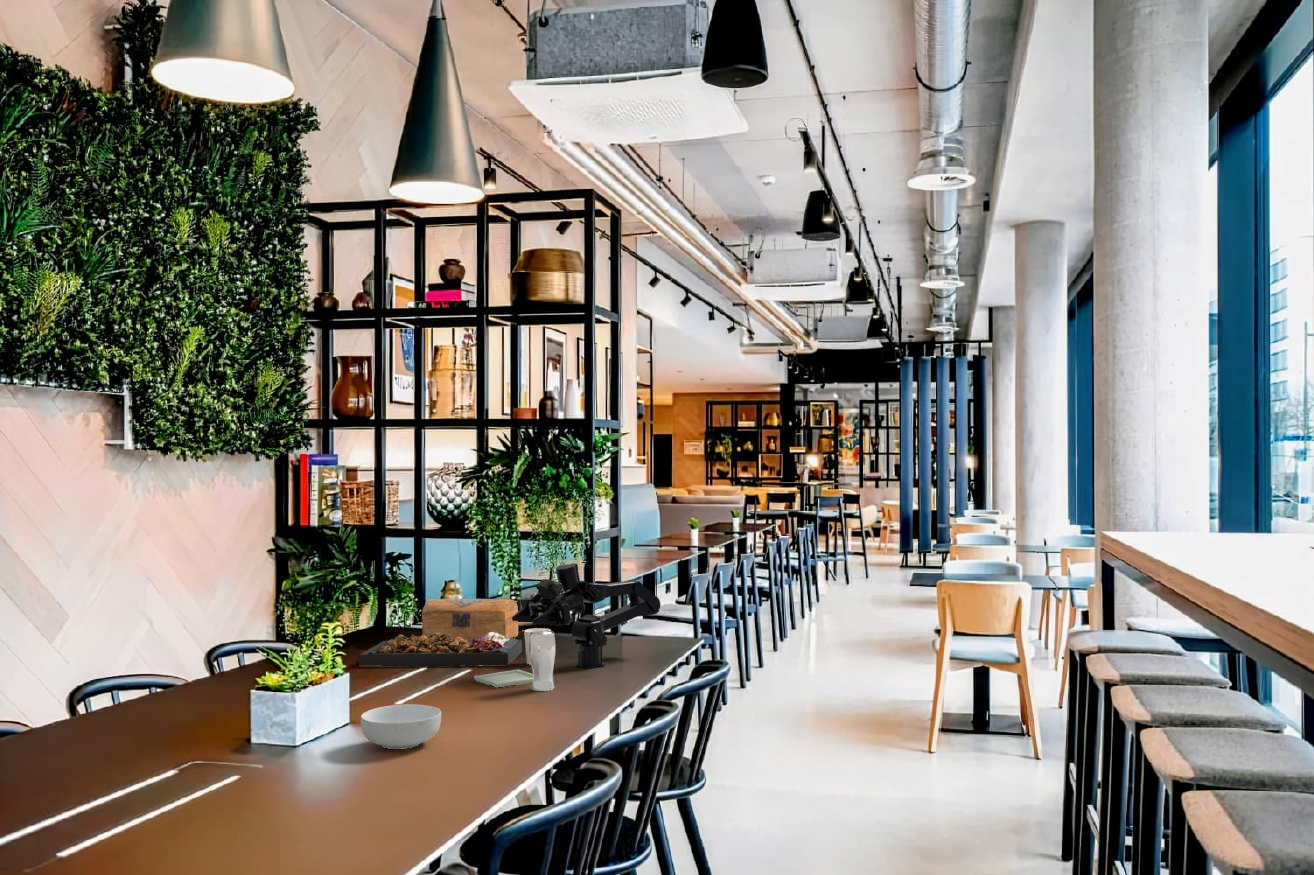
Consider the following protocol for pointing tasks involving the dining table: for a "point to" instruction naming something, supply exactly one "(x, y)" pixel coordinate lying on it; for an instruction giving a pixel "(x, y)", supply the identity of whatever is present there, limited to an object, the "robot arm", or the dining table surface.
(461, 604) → the wooden box
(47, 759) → the dining table surface
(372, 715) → the cereal bowl
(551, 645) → the beer glass
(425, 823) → the dining table surface
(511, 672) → the tray
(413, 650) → the food platter
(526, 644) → the white cup
